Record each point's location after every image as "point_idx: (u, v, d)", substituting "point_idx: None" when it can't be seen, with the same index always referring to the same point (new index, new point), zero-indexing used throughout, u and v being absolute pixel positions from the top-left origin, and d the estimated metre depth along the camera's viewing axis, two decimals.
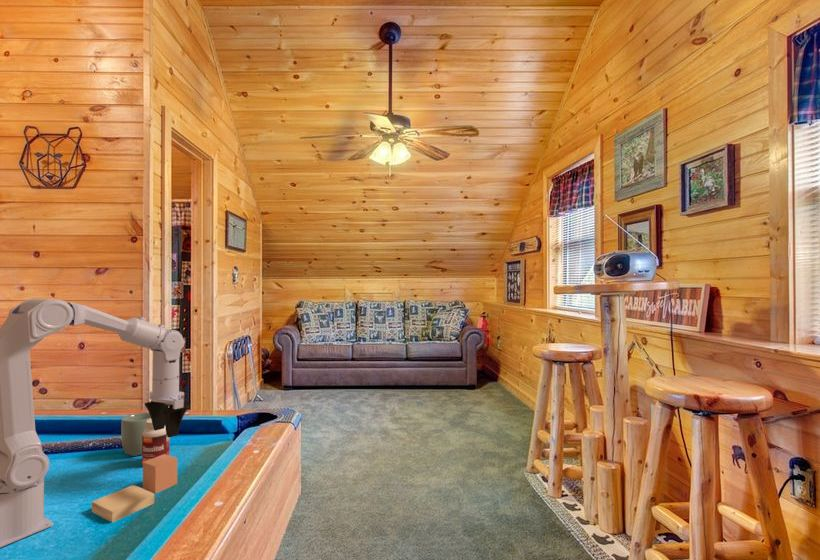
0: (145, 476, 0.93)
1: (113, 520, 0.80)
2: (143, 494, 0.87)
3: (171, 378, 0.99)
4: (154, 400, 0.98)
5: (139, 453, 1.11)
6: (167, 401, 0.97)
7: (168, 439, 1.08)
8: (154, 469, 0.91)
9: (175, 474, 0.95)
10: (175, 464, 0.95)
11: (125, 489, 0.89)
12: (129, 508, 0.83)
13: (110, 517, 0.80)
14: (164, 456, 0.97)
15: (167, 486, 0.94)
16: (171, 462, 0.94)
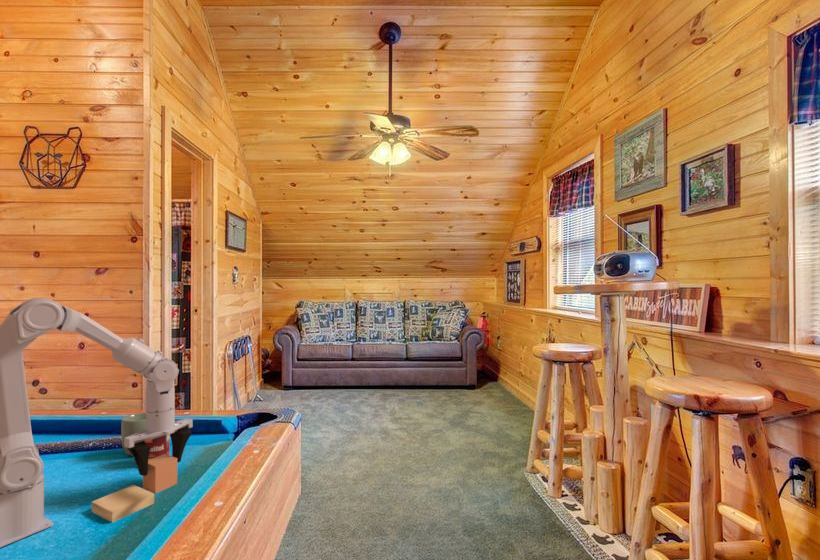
0: (145, 476, 0.93)
1: (113, 520, 0.80)
2: (143, 494, 0.87)
3: (148, 411, 0.92)
4: None
5: None
6: None
7: (168, 439, 1.08)
8: (154, 469, 0.91)
9: (175, 474, 0.95)
10: (175, 464, 0.95)
11: (125, 489, 0.89)
12: (129, 508, 0.83)
13: (110, 517, 0.80)
14: (164, 456, 0.97)
15: (167, 486, 0.94)
16: (171, 462, 0.94)
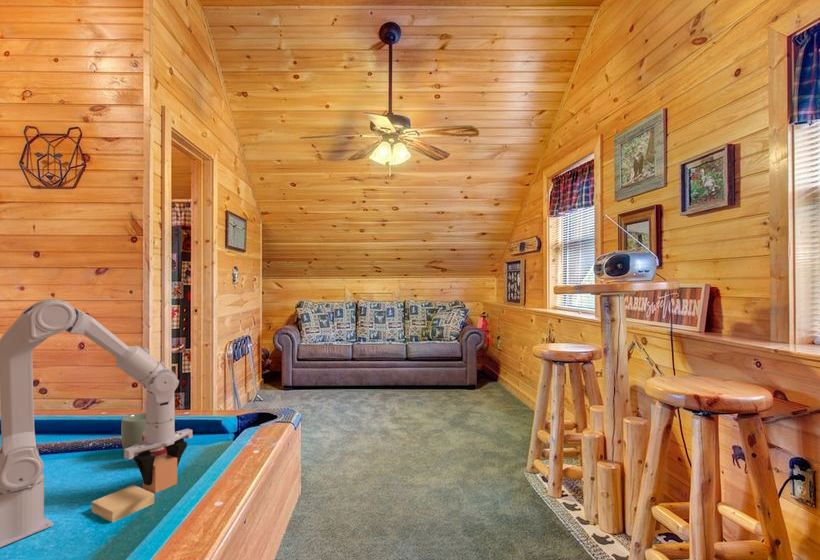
0: None
1: (113, 520, 0.80)
2: (143, 494, 0.87)
3: (148, 422, 0.92)
4: None
5: None
6: None
7: None
8: (154, 469, 0.91)
9: (175, 474, 0.95)
10: (175, 464, 0.95)
11: (125, 489, 0.89)
12: (129, 508, 0.83)
13: (110, 517, 0.80)
14: (164, 456, 0.97)
15: (167, 486, 0.94)
16: (171, 462, 0.94)
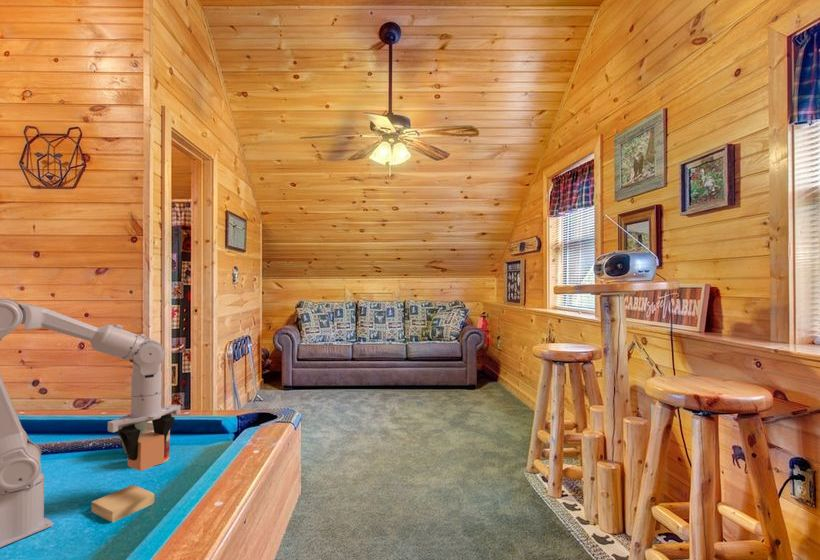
0: None
1: (113, 520, 0.80)
2: (143, 494, 0.87)
3: (133, 395, 0.89)
4: None
5: None
6: None
7: (168, 439, 1.08)
8: (139, 446, 0.88)
9: (162, 452, 0.92)
10: (162, 441, 0.92)
11: (125, 489, 0.89)
12: (129, 508, 0.83)
13: (110, 517, 0.80)
14: (150, 433, 0.93)
15: (153, 464, 0.90)
16: (158, 440, 0.91)
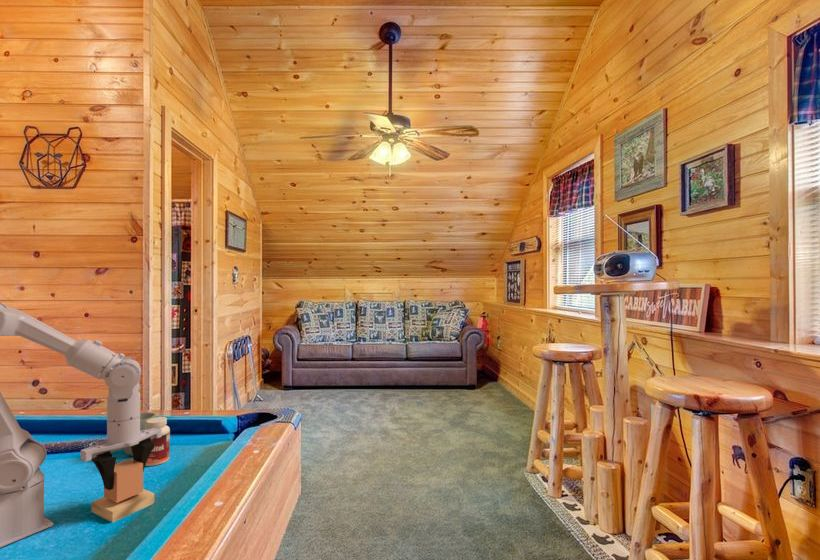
0: None
1: (113, 520, 0.80)
2: (143, 494, 0.87)
3: (109, 420, 0.83)
4: None
5: None
6: None
7: (168, 439, 1.08)
8: (115, 476, 0.82)
9: (140, 481, 0.86)
10: (140, 470, 0.86)
11: None
12: (129, 508, 0.83)
13: (110, 517, 0.80)
14: (129, 461, 0.87)
15: (131, 494, 0.84)
16: (136, 468, 0.85)
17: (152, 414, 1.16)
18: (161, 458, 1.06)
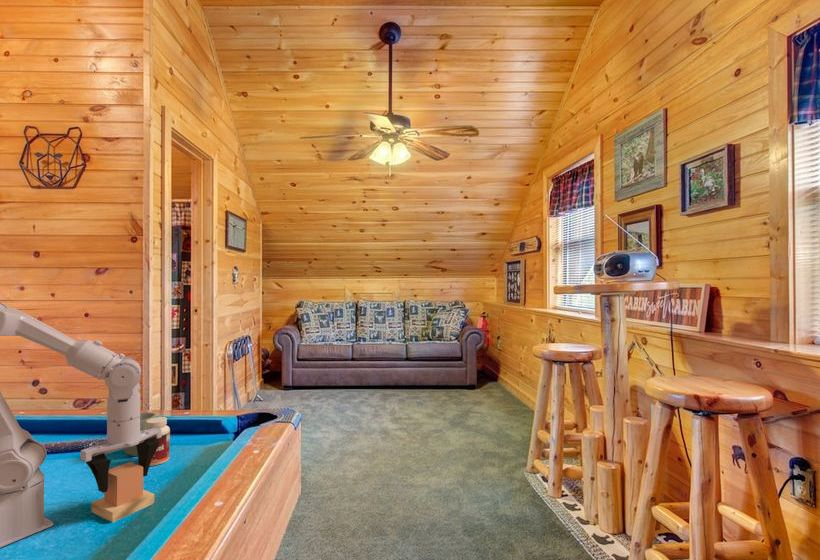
0: None
1: (113, 521, 0.80)
2: (143, 495, 0.87)
3: (109, 421, 0.83)
4: None
5: None
6: None
7: (168, 439, 1.08)
8: (116, 479, 0.82)
9: (140, 484, 0.86)
10: (140, 473, 0.86)
11: None
12: (129, 509, 0.83)
13: (110, 517, 0.80)
14: (129, 464, 0.88)
15: (131, 498, 0.85)
16: (136, 472, 0.85)
17: (152, 414, 1.16)
18: (161, 458, 1.06)
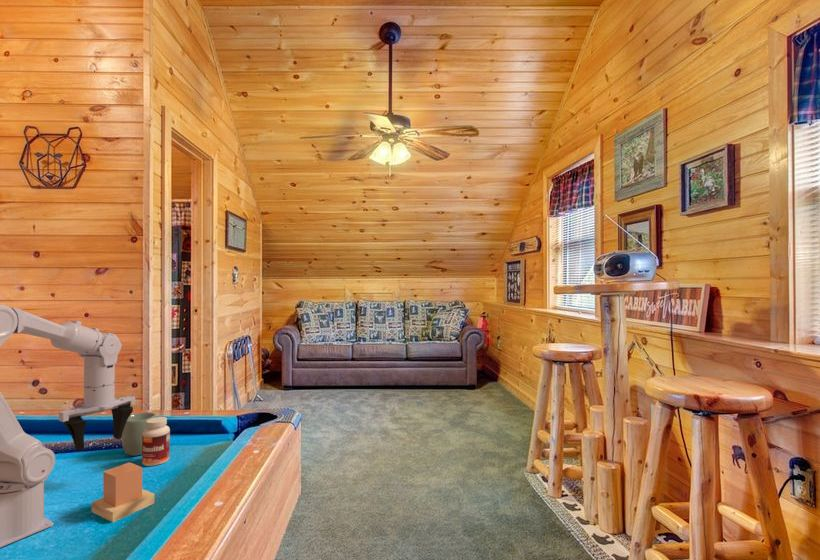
0: (106, 487, 0.84)
1: (113, 520, 0.80)
2: (144, 494, 0.87)
3: (85, 386, 0.92)
4: None
5: (139, 453, 1.11)
6: None
7: (168, 439, 1.08)
8: (114, 480, 0.82)
9: (139, 485, 0.86)
10: (139, 474, 0.86)
11: None
12: (129, 508, 0.83)
13: (110, 517, 0.80)
14: (128, 465, 0.87)
15: (130, 498, 0.84)
16: (135, 472, 0.85)
17: (152, 414, 1.16)
18: (161, 458, 1.06)
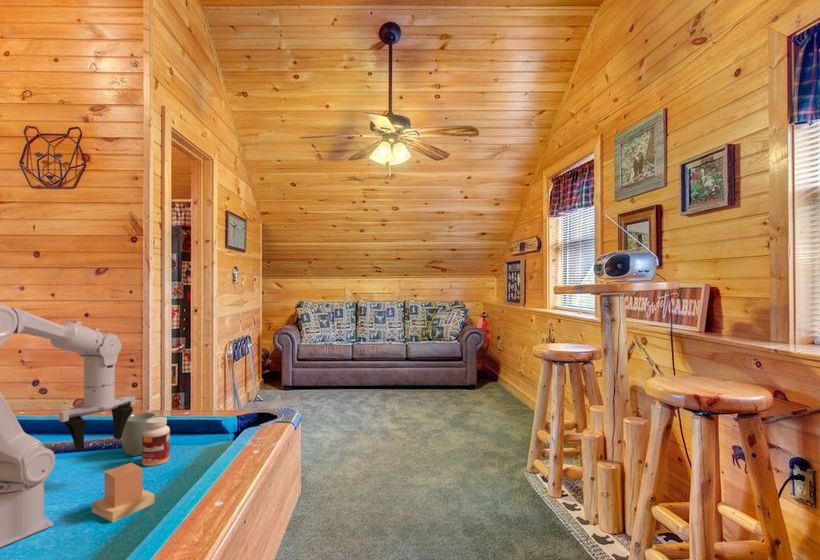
0: (106, 487, 0.84)
1: (113, 521, 0.80)
2: (144, 495, 0.87)
3: (85, 386, 0.92)
4: None
5: (139, 453, 1.11)
6: None
7: (168, 439, 1.08)
8: (114, 480, 0.82)
9: (139, 486, 0.86)
10: (139, 475, 0.86)
11: None
12: (129, 509, 0.83)
13: (110, 517, 0.80)
14: (129, 465, 0.87)
15: (130, 499, 0.84)
16: (135, 473, 0.85)
17: (152, 414, 1.16)
18: (161, 458, 1.06)
